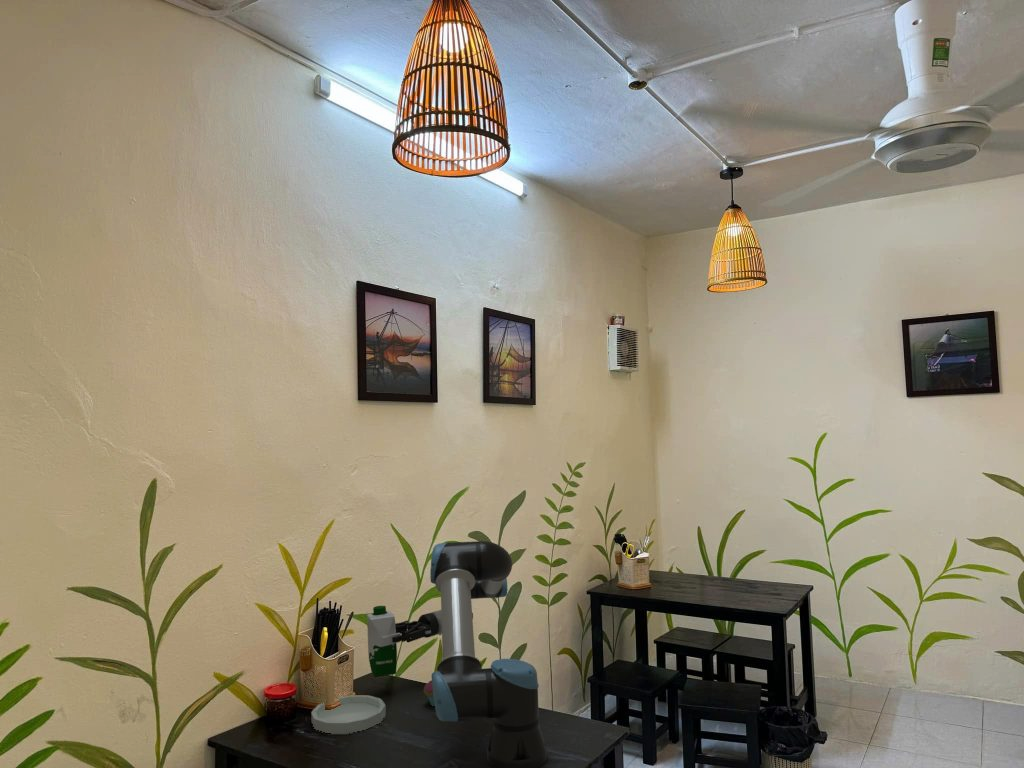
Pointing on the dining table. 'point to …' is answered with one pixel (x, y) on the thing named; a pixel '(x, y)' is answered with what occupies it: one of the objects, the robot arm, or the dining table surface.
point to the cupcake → (429, 692)
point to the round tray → (349, 715)
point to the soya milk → (379, 656)
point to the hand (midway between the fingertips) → (375, 639)
